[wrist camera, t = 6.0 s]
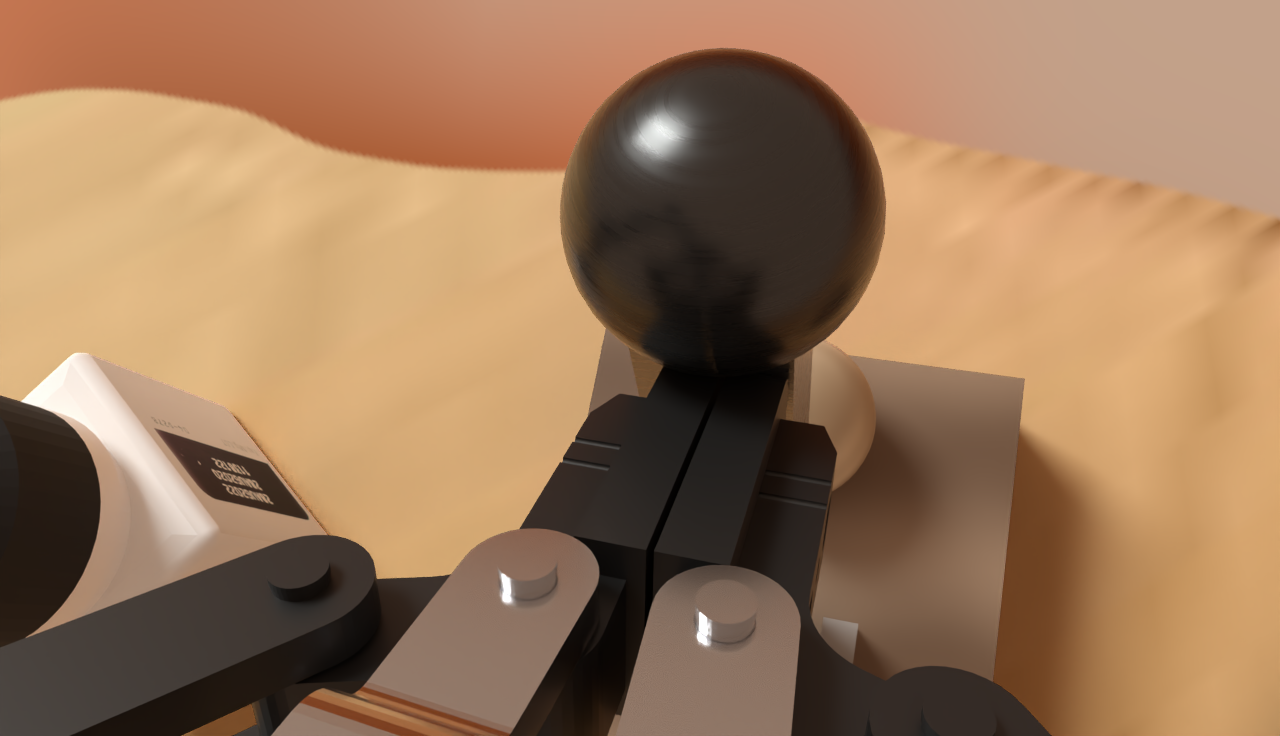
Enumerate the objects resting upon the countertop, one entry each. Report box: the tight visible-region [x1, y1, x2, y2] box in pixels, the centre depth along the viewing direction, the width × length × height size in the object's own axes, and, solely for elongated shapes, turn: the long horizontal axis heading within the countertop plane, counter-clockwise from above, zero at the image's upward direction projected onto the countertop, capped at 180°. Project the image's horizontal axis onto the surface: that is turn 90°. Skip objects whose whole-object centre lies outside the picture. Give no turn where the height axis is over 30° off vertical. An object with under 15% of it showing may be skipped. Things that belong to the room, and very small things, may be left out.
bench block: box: [588, 329, 1025, 736], centre depth 26 cm, size 18×12×8 cm, turn 169°
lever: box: [560, 48, 886, 423], centre depth 18 cm, size 4×4×20 cm
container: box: [0, 353, 327, 647], centre depth 29 cm, size 8×8×13 cm
